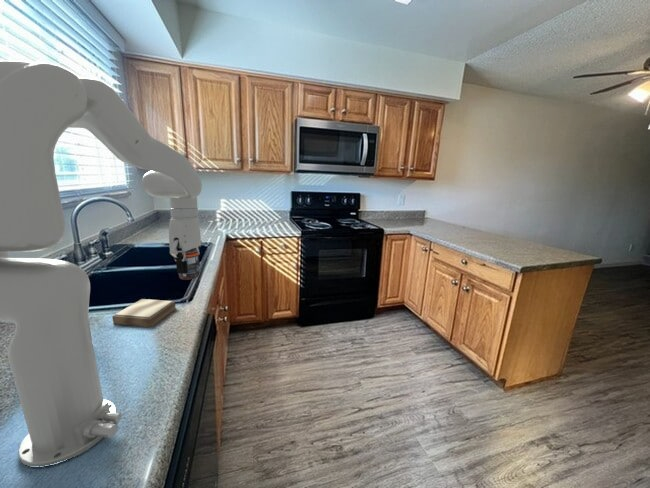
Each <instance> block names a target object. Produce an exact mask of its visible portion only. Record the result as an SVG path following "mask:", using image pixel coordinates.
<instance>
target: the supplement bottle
mask: <svg viewBox="0 0 650 488" xmlns="http://www.w3.org/2000/svg"><path fill="white" fill-rule="evenodd" d="M179 251H182V249H180V250H179ZM179 254H180V255H181V256H182V253H179ZM185 261H187V268H188V273H186V274H184V273H178V278H179V279H180V280H184V281H185V280H187V281H188V280H194V279H197V278H198V277H200V266H199V264H200V261H199V262H198V251H197V249H195V248H194V249H191V250H189V251H187V253H186V259H185Z"/></svg>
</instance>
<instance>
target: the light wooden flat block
mask: <svg viewBox="0 0 650 488" xmlns="http://www.w3.org/2000/svg"><path fill="white" fill-rule="evenodd" d="M174 309H175V310H176V309H177V308H176V301H173V300H162V299H161V300H160V299H150V298H148V299H146V298H141V299H139V300H138V301H135V302H134V303H132V304H130V305H128V306H127V307H125V308H124V309H122V310H120V311H118V312H117V313H115V314H113V315H112V324H113V325H120V324H123V325H122V326H132V327H134V326H135V327H147V328H151V327H153V326H154V325H156V324H157V323H158V322H160V321H161V320H162V319H164V318H165V317H166V316H169V314H170V312H171V313H172V312H174V311H175V310H174Z"/></svg>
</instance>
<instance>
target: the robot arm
mask: <svg viewBox="0 0 650 488" xmlns="http://www.w3.org/2000/svg"><path fill="white" fill-rule="evenodd" d="M68 128H70V129H71V128H74V129H76V128H78V129H85V130H87V131H88V132H90V133H91V134H92V135H93V136H94V137H95V138H96V139H97V140H98V141H100V142H101V143H102V144H103V145H104V146H105V147H106V148H107V150H109V151H110V152H111V153H112V154H113V155H114V157H116V158H117V159H118V160H120V161H121V162H123V163H126V164H128V165H130V166H132V167H137V168H139V169H143V170H145V171H147V172H146V173H144V175H143V176H142V179H141V185H142V188H143V190H144V191H145V193H147V194H148V195H149V196H151V197H153V198H158V199H160V198H161V199H168V201H169V209H170V219H169V224H168V225H169V226H168V242H169V247H168V248H169V254H170V255H171V256H172V258H173V259H174V261H175V265H176V274H179V273H184V274H186V273H188V268H187V261H185V259H186V253H187V251H189V250H191V249H194V248H195V249H197V251H198V262H199V267H200V253H201V252H200V251H201V245H202V244H203V242H202V240H201V237H202V236H201V228H200V223H199V210H198V208H199V207H198V196H199V195H200V194H201V193H202V188H203V187H202V180H201V177H200V176H199V173H198V172H197V170H196V168H195V167H194V166H193V164H192V163H191V161H190V160H189V159H188V158H187V157H185V156H184V155H183V154H182V153H180V152H179V151H177V150H175V149H174V148H173V147H170V146H169V145H167V144H165V143H164V142H161V141H160V140H158V139H156V138H154V137H153V136H151V135H150V134H149V132H148V131H147V129H146V128H145V127H144V125H142V123H141V122H140V121H139V120H138V118H137V116H136V115H135V114H134V113H133V112H132V110H131V109H130V108H129V107H128V105H127V103H125V101H124V100H123V99H122V98H121V96H120V95H119V93H117V91H116V90H115V89H114V88H112V86H110V85H109V84H107V83H106V82H104V81H103V80H99V79H96V78H91V77H89V78H88V77H79V76H77V75H76V74H75V73H74V72H72V71H71V70H69V69H68V68H66V67H64V66H61V65H58V64H54V63H50V62H44V61H32V60H31V61H30V60H0V322H3V323H5V322H7V323H13V324H14V325H15V331H14V334H13V336H12V339H11V340H10V343H9V345H8V349H7V357H8V358H7V359H8V363H9V367H10V370H11V373H12V376H13V379H14V380H13V381H14V383H15V384H14V385H15V388H16V391H17V395H18V399H19V403H20V405H21V406H20V407H21V409H22V414H23V417H24V420H25V423H26V427H27V428H26V429H27V430H28V433H27V434H26V436H25V437H24V438H23V439H22V441H21V443H20V445H19V446H18V447H19V448H18V451H17V452H18V453H17V454H18V459H19V460H21V461H20V462H22V463H23V465H24V464H25V465H27V466H26V467H28V466H39V467H40V466H45V465H50V464H54V463H57V462H60V461H64V460H66V459H70V458H72V457H74V458H76V457H77V455H78V456H80V455H81V454H83V453H85V452H86V451H88V450H90V449H91V448H92V447H94V446H96V445H97V444H98V443H99V442H100V441H101V440H102V439H103V438H105V439H111V438H113V437H114V436H115V435H116V433H117V431H118V430H119V428H118V427H119V426H118V424H115V423H118V422H120V421H121V419H122V416H123V414H122V412H118V411H117V408H116V405H115V404H114V403H113V402H112V401H111V400H107V399H104V396H103V392H102V391H103V389H102V385H101V380H100V376H99V370H98V363H97V359H96V353H95V348H94V343H93V337H92V333H91V327H90V325H91V324H90V318H89V317H90V315H89V313H90V312H89V310H90V309H89V308H90V307H89V306H90V296H91V295H90V294H91V282H90V279H89V276H88V274H87V273H86V271H85V270H84V269H83V268H81V267H80V266H78V265H77V264H75V263H73V262H70V261H67V260H61V259H57V258H56V259H54V258H41V257H37V258H36V257H34V258H33V257H9V254H8V253H10V252H11V253H27V252H28V253H30V252H40V251H44V250H49V249H51V248H54V247H55V246H57V245H59V243H61V241H62V240H63V238H64V236H65V233H66V222H65V216H64V215H65V214H64V209H63V204H62V200H61V199H62V198H61V193H60V190H59V184H58V180H57V174H56V169H55V160H54V158H55V157H54V156H55V155H54V153H55V148H56V145H57V142H58V141H59V139H60V137H61V136H62V134H63V133H64V132H65V131H66V130H67V129H68ZM180 249H182V251H179V250H180ZM179 253H182V256H181V255H180V254H179ZM75 456H76V457H75ZM72 459H73V458H72ZM70 460H71V459H70ZM22 463H21V464H22ZM25 465H24V466H25Z"/></svg>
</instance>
